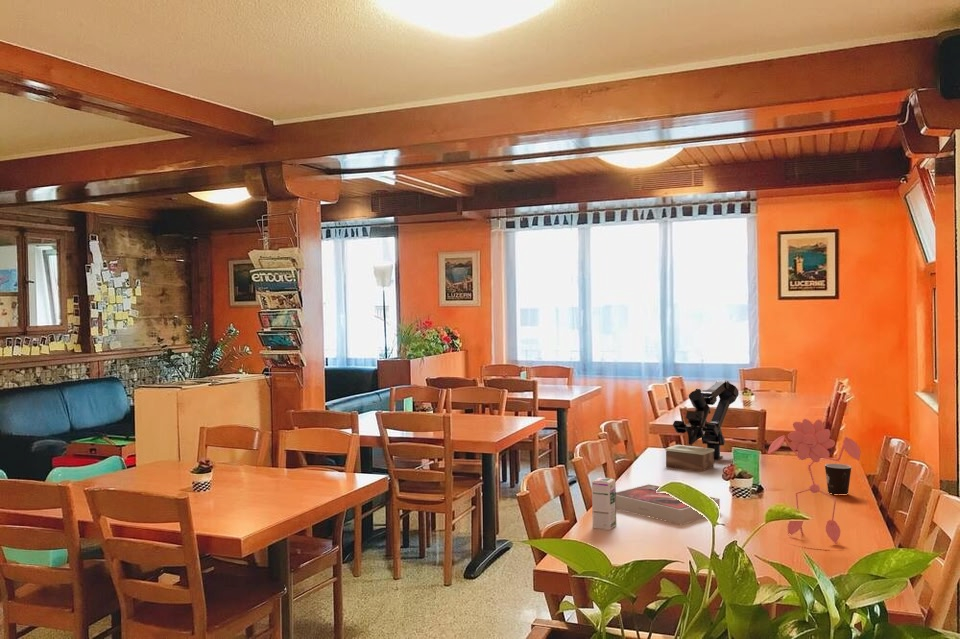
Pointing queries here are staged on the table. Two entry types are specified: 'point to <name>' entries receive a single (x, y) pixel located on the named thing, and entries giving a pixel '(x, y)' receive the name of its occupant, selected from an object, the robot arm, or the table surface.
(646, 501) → the product packaging
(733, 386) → the robot arm
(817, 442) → the pink flower figurine
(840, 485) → the coffee mug
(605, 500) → the syrup box
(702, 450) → the lid
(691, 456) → the walnut box
